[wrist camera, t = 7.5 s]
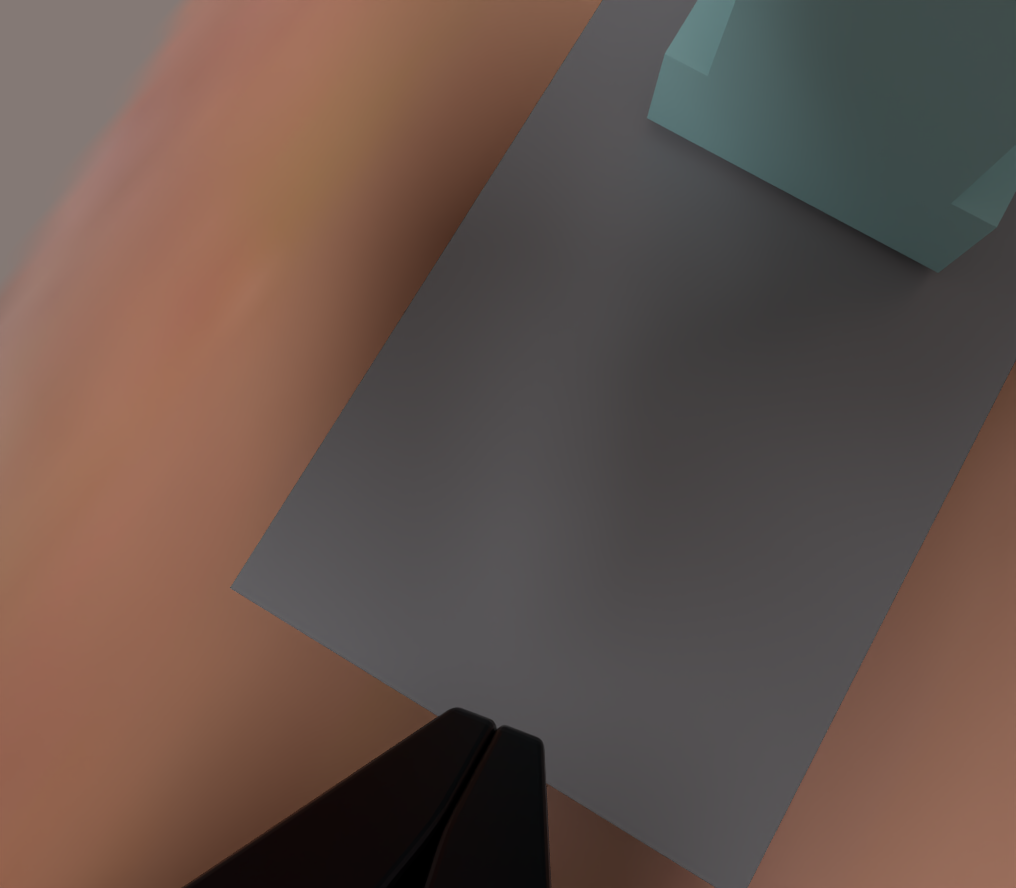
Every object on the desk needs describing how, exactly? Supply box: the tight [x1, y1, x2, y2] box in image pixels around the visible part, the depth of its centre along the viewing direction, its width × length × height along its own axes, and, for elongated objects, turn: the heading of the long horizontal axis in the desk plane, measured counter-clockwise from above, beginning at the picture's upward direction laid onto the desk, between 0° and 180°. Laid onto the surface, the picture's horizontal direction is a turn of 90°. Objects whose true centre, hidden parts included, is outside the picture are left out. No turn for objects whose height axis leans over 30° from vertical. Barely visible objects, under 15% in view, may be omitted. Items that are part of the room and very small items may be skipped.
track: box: [230, 0, 1016, 888], centre depth 13 cm, size 23×10×10 cm, turn 149°
